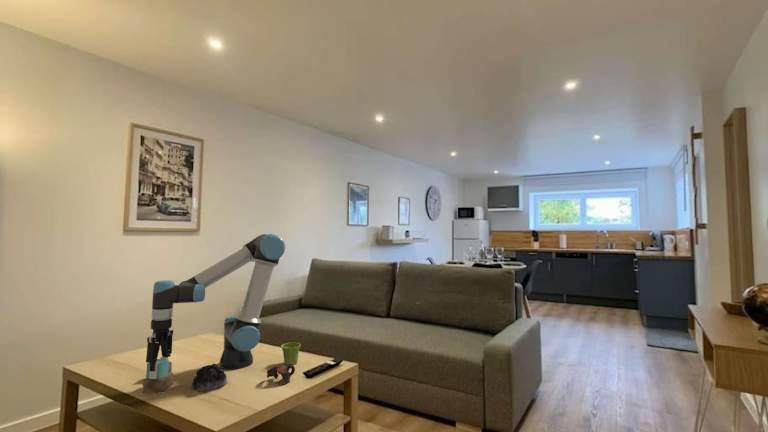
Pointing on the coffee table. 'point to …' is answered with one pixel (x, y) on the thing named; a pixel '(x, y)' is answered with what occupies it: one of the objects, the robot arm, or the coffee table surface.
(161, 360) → the teal cube
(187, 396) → the coffee table surface
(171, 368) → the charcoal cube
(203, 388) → the crystal cluster
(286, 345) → the plant pot
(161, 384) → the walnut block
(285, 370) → the brown animal figurine
